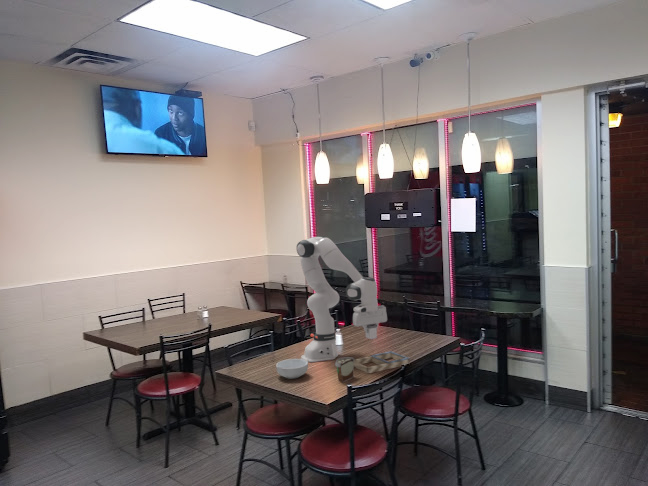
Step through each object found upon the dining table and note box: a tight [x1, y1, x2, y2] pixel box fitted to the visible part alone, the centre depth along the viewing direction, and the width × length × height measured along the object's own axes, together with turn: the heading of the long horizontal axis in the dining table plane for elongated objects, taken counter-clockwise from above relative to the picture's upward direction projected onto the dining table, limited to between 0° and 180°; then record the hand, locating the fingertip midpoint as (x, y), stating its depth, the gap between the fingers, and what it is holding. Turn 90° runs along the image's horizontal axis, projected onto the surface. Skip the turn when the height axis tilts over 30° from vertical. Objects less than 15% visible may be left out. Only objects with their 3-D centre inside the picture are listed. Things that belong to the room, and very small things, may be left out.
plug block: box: [364, 324, 378, 340], centre depth 264 cm, size 4×5×7 cm
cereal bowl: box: [275, 358, 309, 380], centre depth 255 cm, size 17×17×7 cm
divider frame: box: [354, 351, 410, 374], centre depth 267 cm, size 27×17×4 cm, turn 117°
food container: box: [334, 356, 355, 383], centre depth 247 cm, size 12×6×10 cm, turn 141°
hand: (370, 332), depth 264 cm, fingers closed on plug block, 4 cm apart
